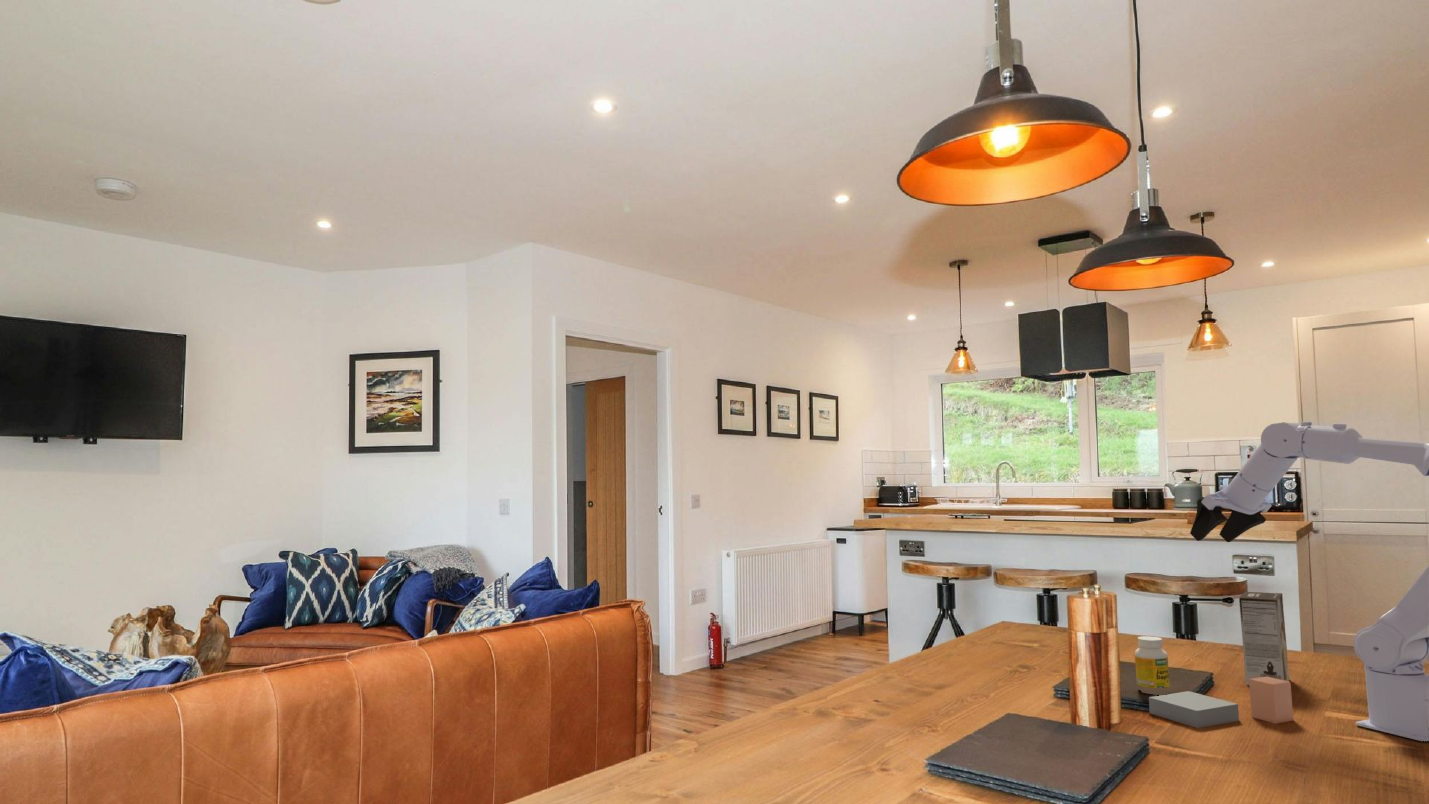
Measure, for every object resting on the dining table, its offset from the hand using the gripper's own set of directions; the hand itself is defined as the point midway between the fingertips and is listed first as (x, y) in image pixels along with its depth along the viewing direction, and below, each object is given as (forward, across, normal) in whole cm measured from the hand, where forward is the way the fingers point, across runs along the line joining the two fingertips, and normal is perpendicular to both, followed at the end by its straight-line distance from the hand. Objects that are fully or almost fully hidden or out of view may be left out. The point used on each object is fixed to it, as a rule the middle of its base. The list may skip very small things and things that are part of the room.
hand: (1209, 537), depth 155 cm
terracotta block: (+12, +6, +30) cm, 32 cm away
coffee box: (+20, -16, +17) cm, 31 cm away
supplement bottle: (+25, +8, +14) cm, 30 cm away
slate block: (+17, +16, +26) cm, 34 cm away
